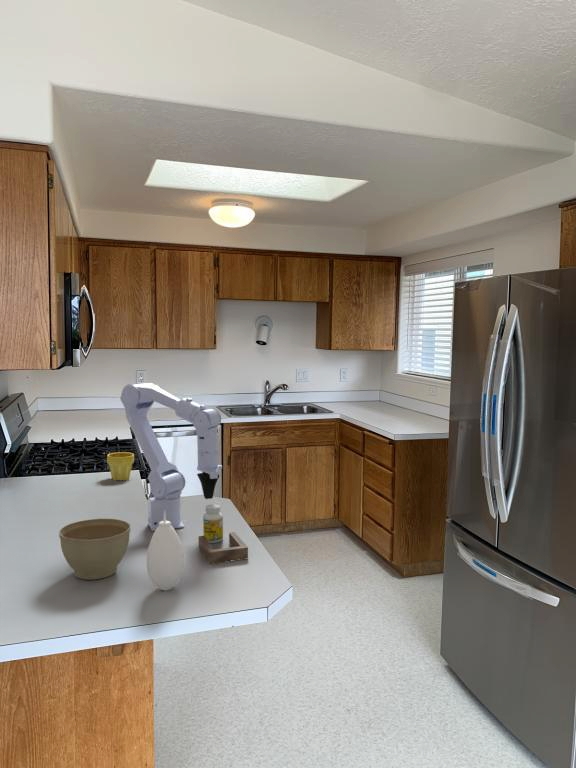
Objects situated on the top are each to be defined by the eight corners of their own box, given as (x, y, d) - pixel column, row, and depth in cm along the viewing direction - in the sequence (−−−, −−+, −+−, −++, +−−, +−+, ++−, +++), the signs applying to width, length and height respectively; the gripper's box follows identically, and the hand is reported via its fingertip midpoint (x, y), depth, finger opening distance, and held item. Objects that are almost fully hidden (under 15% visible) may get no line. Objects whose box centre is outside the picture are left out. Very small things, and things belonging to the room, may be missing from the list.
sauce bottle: (166, 599, 125) (165, 517, 124) (140, 591, 129) (138, 511, 128) (190, 586, 132) (189, 508, 130) (165, 578, 136) (164, 503, 134)
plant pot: (140, 477, 232) (139, 453, 232) (119, 483, 224) (119, 458, 223) (122, 474, 238) (121, 450, 237) (101, 479, 229) (101, 455, 228)
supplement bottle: (226, 538, 164) (225, 504, 163) (218, 544, 158) (217, 510, 158) (208, 536, 165) (208, 502, 164) (200, 542, 160) (199, 508, 159)
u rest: (209, 564, 145) (209, 552, 144) (198, 547, 156) (198, 536, 156) (247, 558, 148) (247, 547, 148) (234, 542, 160) (234, 531, 160)
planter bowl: (132, 582, 134) (131, 536, 133) (57, 590, 129) (55, 542, 128) (130, 556, 149) (129, 515, 148) (63, 563, 145) (62, 520, 144)
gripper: (227, 454, 161) (228, 503, 162) (215, 446, 174) (216, 490, 175) (202, 456, 158) (203, 505, 159) (191, 447, 172) (192, 493, 173)
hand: (208, 498), depth 167 cm, fingers closed
